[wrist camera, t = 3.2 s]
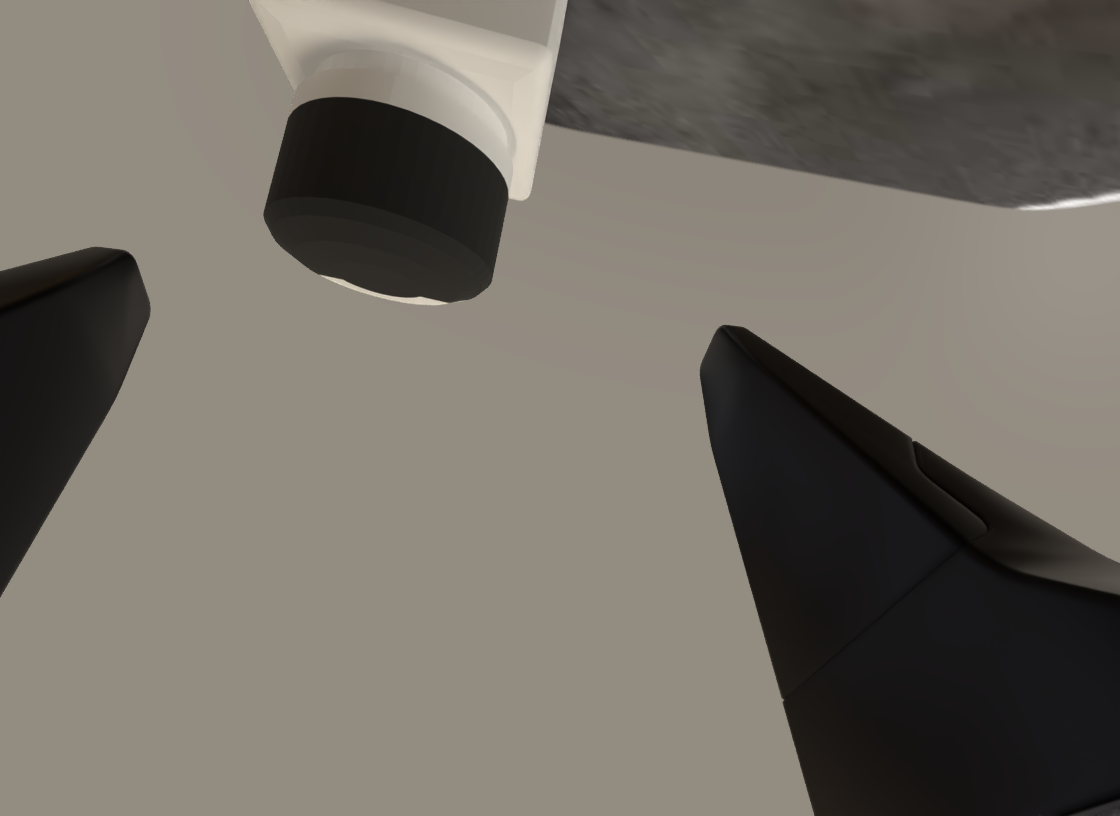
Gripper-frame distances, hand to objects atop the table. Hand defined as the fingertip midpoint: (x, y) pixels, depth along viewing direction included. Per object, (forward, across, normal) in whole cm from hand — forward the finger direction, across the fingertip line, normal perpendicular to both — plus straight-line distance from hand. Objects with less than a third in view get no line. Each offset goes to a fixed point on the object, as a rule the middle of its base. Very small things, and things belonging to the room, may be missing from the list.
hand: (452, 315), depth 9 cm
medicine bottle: (+15, +1, -5) cm, 16 cm away
